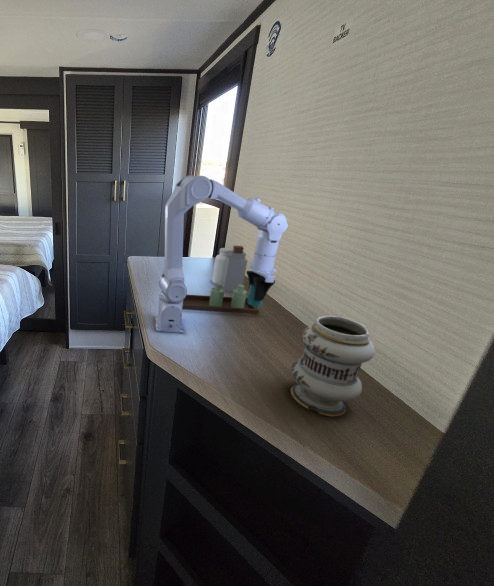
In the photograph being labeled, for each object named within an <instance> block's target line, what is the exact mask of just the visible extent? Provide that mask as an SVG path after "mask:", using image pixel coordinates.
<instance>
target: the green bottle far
mask: <svg viewBox="0 0 494 586" xmlns="http://www.w3.org/2000/svg"><path fill="white" fill-rule="evenodd" d="M247 294H248V291H247V290H245V285H244V284H243V285H238V288H237V289H234V290H233V291H232V296H231V297H232V300H231V305H230V306H231V307H232V308H244V305H245V300H246V298H247V296H248V295H247Z"/></svg>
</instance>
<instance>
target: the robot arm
mask: <svg viewBox="0 0 494 586" xmlns="http://www.w3.org/2000/svg"><path fill="white" fill-rule="evenodd" d="M207 199H209V200H214V199H216V200H217V201H219V202H221V203H223V204H225V205H227V206H229V207H231V208H233V209H235V210H237V215H238V218H241V219H242V220H244V221H246V222H248V223H249V224H251V225H253V226H255V227H256V228H257V230H258V233H257V238H256V243H255V249H254V254H253V259H252V261H250V265H249V269H250V270H247V271H246V275H247V279H248V290H249V289H250V285H251V284H252V283H255V296H254V297H255V300H258V301H262V300H263V299H265V297H266V295H267V293H268V291H269V290H270V289H271V288H272V287H273V286H274V284H275V283H276V280H275V277H276V276H275V275H274V273H277V272H278V270H277V269H276V268H275V267H274V266H275V261H276V257H277V253H278V249H279V244H280V240H281V239H282V236H283V234H284V233H285V232H286V230H287V229H288V227H289V223H288V221H287V216H285V215H284V214H283V213H279V212H275V211H274V210H275V208H273V207H271V206H267V205H265V204H263V203H261V202H262V200H261V199H260V198H258V197H257V198H256V197H255V198H253V197H250V198H246V199H245V198H243V197H241V196H240V195H239V194H237V193H236V192H234V191H233V190H232V189H229V188H228V187H226V186H225V185H223V184H222V183H220V182H219V181H216V180H214V179H211V178H209V177H208V176H206V175H194V174H193V175H192V174H190V175H185V176H184V177H182V178H181V179H180V180H179V181H178V182H176V184H175V186H174V189H173V191H172V193H171V195H170V196H169V198H168V199H167V201H166V203H165V206H164V265H163V268H162V270H161V276H160V278H159V280H158V286H159V288H160V289H161V292H160V293H159V297H158V306H157V307H158V308H157V316H155V317H154V319H155V329H156V330H155V331H156V332H163V333H164V332H165V333H179V334H183V333H184V332H185V331H184V328H182V320H183V319H182V318H183V309H182V307H183V299H184V298H185V297H186V295H188V288H187V286H186V283H185V276H184V275H185V274H184V272H183V256H184V254H183V252H184V251H183V250H184V223H185V214H186V213H187V211H189V210H190V209H191V208H192V207H193V206H195V205H197V204H199V203H201V202H203V201H205V200H207ZM263 301H264V300H263Z"/></svg>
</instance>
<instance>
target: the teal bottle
mask: <svg viewBox="0 0 494 586" xmlns="http://www.w3.org/2000/svg"><path fill="white" fill-rule="evenodd" d="M247 294H248V295H247V298H248V299H247V303H248V304H249V305H252V306H256V307H262V306H263V303H264V299H265V298H264V299H263V300H262V301H258V300H255V297H254V296H255V283H252V284H251V285H250V289H249V288H248V293H247Z"/></svg>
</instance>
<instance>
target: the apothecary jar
mask: <svg viewBox="0 0 494 586" xmlns="http://www.w3.org/2000/svg"><path fill="white" fill-rule="evenodd" d="M300 338H301V342H302V343H303V345H304V350H303V352H302V355H301V357H300V358H298V359H296V360H295V361H294V362H293V363H292V365H291V368H290V373H291V376H292V379H293V380H294V381H295V382H296V383H295V384H293V386H291V388H290V394H291V396H292V398H293V399H294V401H295V402H297V403H298V404H299V405H301V406H302V407H304V408H305V409H307V410H310V411H315V412H316V413H318V414H319V415H322V416H328V417H340V416H342V415H344V414H345V413H346V408H347V407H346V405H345V402H348V401H351V400H354V399H356V398H358V397H359V396H360V395H361V394H362V390H363V385H362V381H361V379H360V378H359V374H360V370H361V367H362V365H363V363H367V362H369V361H370V360H372V359H373V358H374V357H375V354H376V348H375V345H374V343H373V342H372V341H371V340H370V330H369V328H368V327H367V326H365V325H364V324H363V323H361V322H358V321H355V320H353V319H350V318H346V317H342V316H335V315H322V316H320V317H317V318H316V319H315V320H314V323H313V324H311V325H308V326H307V327H305V328H304V329H303V330H302V332H301V337H300Z"/></svg>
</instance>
